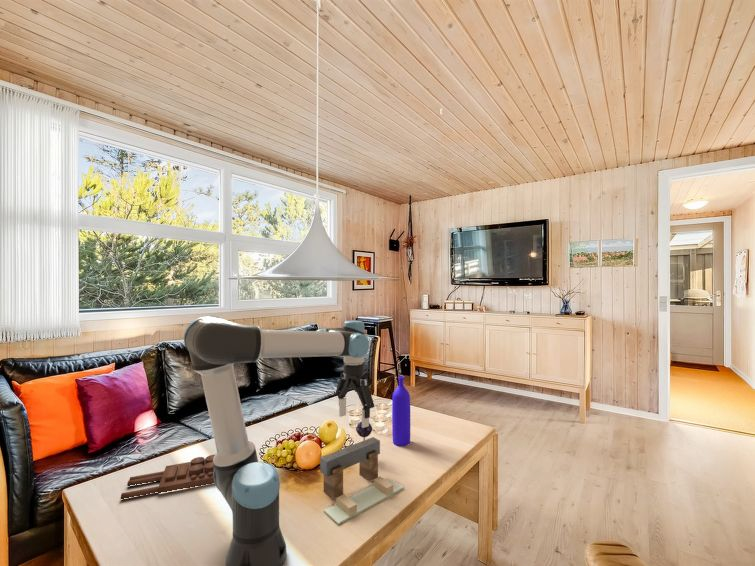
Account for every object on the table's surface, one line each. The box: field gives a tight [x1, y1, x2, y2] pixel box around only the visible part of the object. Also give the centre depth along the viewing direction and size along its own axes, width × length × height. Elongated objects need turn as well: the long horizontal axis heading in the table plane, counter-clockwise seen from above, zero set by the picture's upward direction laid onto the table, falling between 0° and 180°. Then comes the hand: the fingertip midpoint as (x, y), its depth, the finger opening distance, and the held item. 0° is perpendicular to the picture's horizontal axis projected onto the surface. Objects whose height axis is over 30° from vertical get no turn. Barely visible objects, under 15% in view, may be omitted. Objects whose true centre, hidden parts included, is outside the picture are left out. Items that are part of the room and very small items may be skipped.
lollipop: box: [355, 420, 373, 441], centre depth 148 cm, size 7×7×15 cm
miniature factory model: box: [120, 454, 216, 500], centre depth 131 cm, size 16×5×30 cm
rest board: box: [323, 476, 404, 526], centre depth 119 cm, size 28×8×3 cm, turn 131°
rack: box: [323, 451, 379, 500], centre depth 128 cm, size 20×6×10 cm, turn 131°
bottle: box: [391, 375, 411, 447], centre depth 161 cm, size 8×8×30 cm
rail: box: [319, 436, 381, 477], centre depth 128 cm, size 24×4×5 cm, turn 131°
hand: (353, 421), depth 129 cm, fingers open, 13 cm apart
